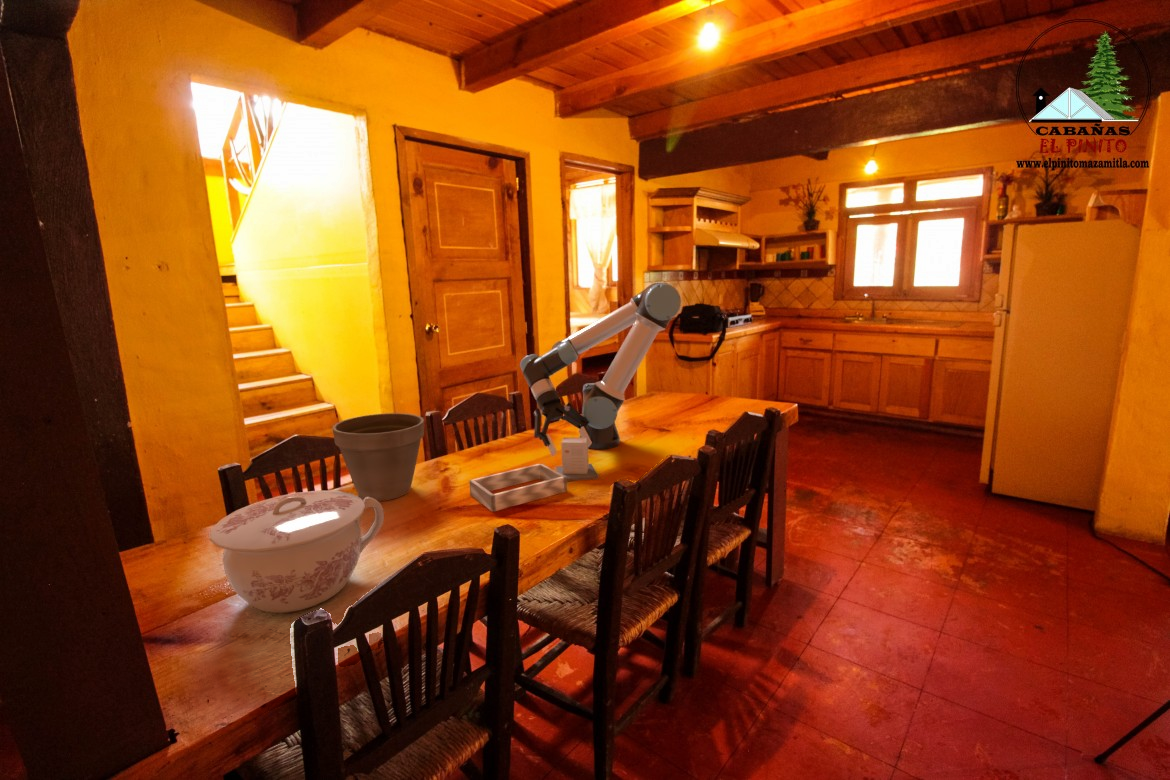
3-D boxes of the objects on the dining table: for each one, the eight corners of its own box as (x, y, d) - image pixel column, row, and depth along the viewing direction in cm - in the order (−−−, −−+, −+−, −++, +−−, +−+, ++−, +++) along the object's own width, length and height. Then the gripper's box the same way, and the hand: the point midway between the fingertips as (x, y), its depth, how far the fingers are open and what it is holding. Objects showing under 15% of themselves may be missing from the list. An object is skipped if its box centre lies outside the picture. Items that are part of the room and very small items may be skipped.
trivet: (591, 465, 185) (591, 463, 185) (598, 478, 173) (598, 476, 173) (555, 468, 183) (555, 466, 183) (560, 481, 171) (560, 479, 171)
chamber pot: (188, 636, 100) (168, 530, 96) (271, 560, 127) (258, 474, 123) (343, 633, 100) (330, 526, 96) (394, 557, 127) (385, 471, 123)
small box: (588, 468, 180) (588, 437, 178) (587, 474, 175) (586, 442, 173) (564, 468, 181) (563, 436, 179) (562, 474, 175) (561, 442, 173)
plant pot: (429, 473, 181) (423, 408, 176) (429, 502, 158) (423, 428, 153) (346, 482, 174) (339, 415, 170) (334, 514, 151) (325, 437, 147)
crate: (541, 476, 176) (540, 463, 175) (567, 491, 164) (566, 476, 163) (470, 494, 162) (469, 480, 162) (492, 511, 150) (491, 496, 149)
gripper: (572, 396, 196) (598, 447, 188) (509, 407, 182) (534, 463, 174) (580, 384, 191) (608, 436, 182) (517, 394, 177) (543, 451, 168)
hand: (572, 449), depth 178 cm, fingers open, 13 cm apart
